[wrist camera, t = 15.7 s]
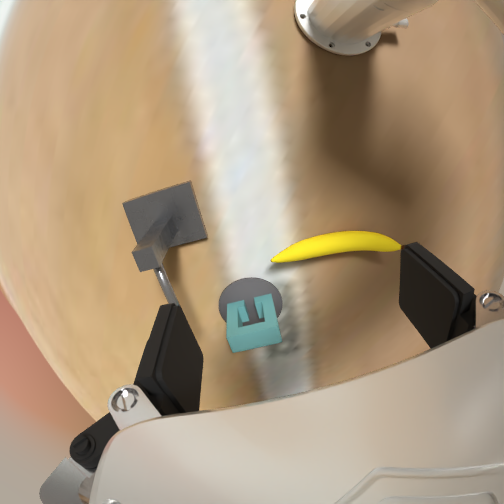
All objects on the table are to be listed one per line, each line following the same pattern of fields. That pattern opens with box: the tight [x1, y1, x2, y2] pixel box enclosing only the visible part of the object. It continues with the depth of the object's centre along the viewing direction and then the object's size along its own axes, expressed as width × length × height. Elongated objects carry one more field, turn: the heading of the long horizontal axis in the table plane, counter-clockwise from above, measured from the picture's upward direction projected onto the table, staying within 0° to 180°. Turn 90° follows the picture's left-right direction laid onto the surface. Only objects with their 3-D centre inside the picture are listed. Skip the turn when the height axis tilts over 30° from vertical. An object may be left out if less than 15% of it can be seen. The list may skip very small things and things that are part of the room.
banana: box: [271, 231, 405, 263], centre depth 38 cm, size 3×19×6 cm, turn 96°
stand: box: [122, 180, 207, 306], centre depth 35 cm, size 10×18×11 cm, turn 14°
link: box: [227, 294, 282, 353], centre depth 41 cm, size 7×3×8 cm, turn 104°
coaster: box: [219, 278, 282, 326], centre depth 45 cm, size 10×10×1 cm
